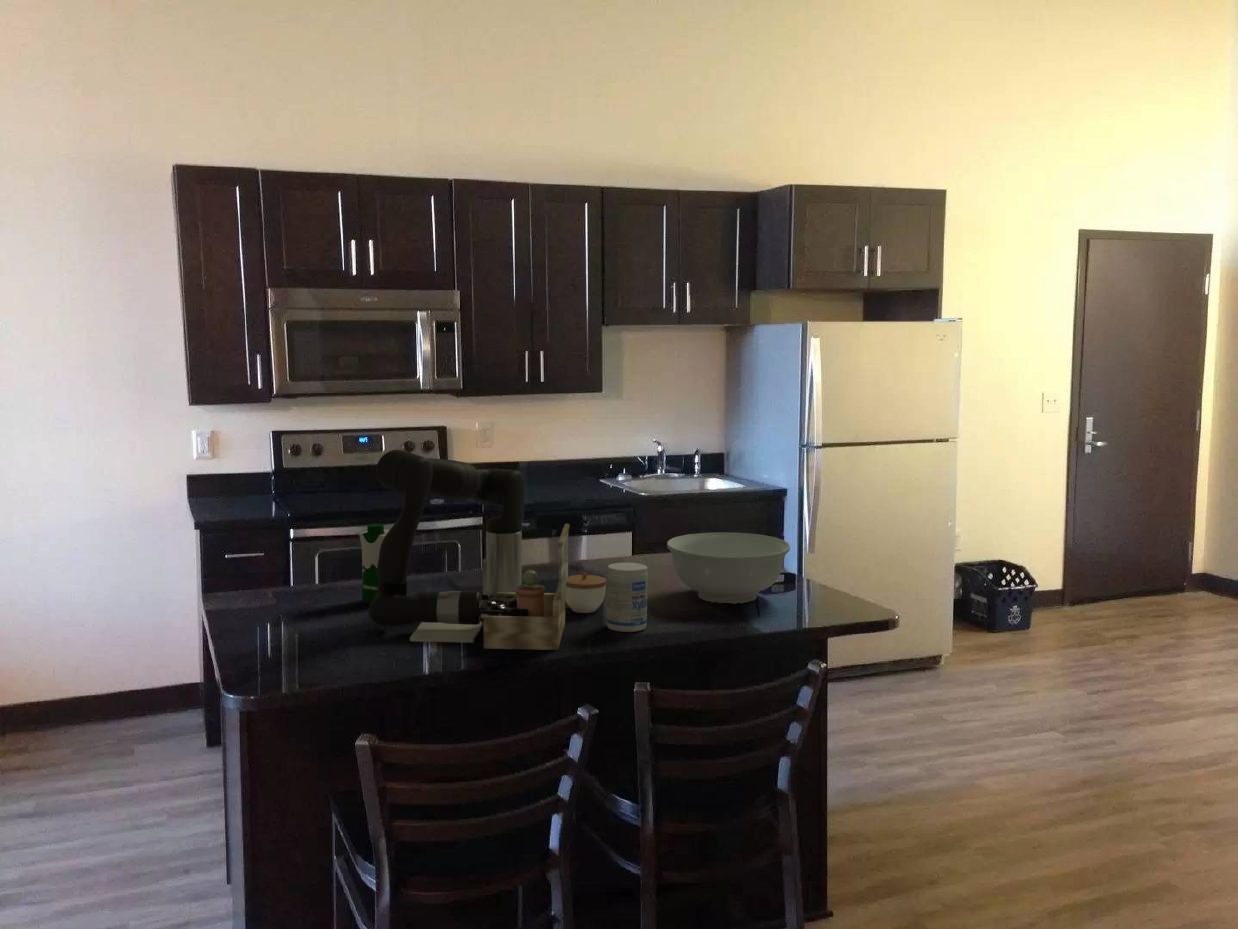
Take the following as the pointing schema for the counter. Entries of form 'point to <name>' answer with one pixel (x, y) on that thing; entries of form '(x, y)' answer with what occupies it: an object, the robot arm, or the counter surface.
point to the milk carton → (371, 559)
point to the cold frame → (533, 629)
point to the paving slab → (445, 632)
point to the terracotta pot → (531, 595)
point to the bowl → (728, 564)
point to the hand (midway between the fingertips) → (530, 609)
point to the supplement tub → (627, 597)
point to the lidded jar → (585, 592)
